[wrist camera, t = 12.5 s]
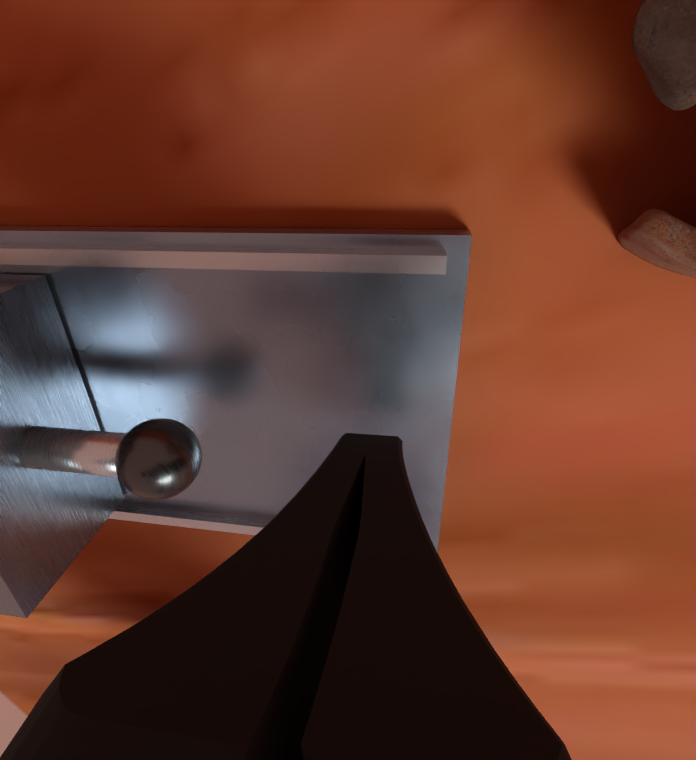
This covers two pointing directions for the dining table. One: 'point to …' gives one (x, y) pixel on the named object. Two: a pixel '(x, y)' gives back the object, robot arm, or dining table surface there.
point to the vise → (260, 350)
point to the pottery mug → (679, 92)
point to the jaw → (64, 450)
